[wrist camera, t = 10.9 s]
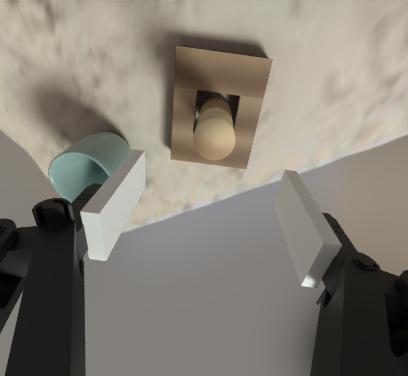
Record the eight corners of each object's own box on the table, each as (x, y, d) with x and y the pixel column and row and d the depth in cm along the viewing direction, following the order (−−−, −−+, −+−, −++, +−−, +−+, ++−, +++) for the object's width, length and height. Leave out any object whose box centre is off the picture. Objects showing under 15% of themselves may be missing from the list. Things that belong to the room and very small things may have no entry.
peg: (203, 93, 31) (194, 116, 21) (232, 97, 31) (239, 122, 21) (199, 123, 33) (190, 157, 23) (227, 127, 33) (231, 162, 23)
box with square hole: (179, 45, 28) (176, 45, 26) (268, 58, 29) (272, 59, 26) (173, 152, 36) (170, 159, 34) (244, 161, 36) (246, 169, 34)
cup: (116, 115, 33) (81, 139, 25) (148, 160, 37) (127, 194, 28) (77, 140, 36) (33, 170, 27) (111, 180, 39) (81, 217, 30)
